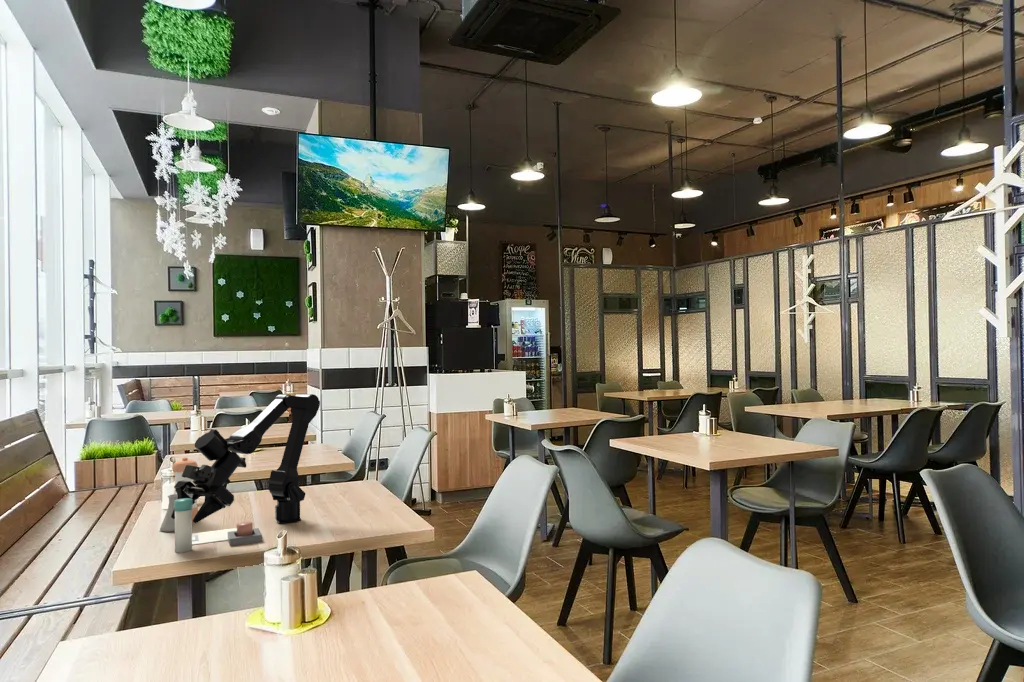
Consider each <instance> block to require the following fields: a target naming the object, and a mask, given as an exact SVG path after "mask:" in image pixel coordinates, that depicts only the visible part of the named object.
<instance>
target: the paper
mask: <svg viewBox="0 0 1024 682" xmlns="http://www.w3.org/2000/svg"><path fill="white" fill-rule="evenodd" d="M231 531H237V527H235V528H226V529H217V530H211V531H202V532H192V546H196V545H204V544H209V543H210V544H211V543H218V542H226V541H228V532H231Z"/></svg>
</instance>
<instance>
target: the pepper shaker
mask: <svg viewBox="0 0 1024 682" xmlns="http://www.w3.org/2000/svg"><path fill="white" fill-rule="evenodd" d="M186 465H191V466H197V467H199V466H198V463H197V462H196V461H195V460H193V459H189V458H188V457H183V458H181V459H180V460H177V461H176V462H174V463H173V464H172V467H171V468H172V471H173V472H174V486H175V485H176V484H177V482H178V481H182V480H184V481H191V482H192V483H193V481H194V480H193V479H190V478H187V477H185V478H184V477H182V474H183V471H184V469H185V466H186ZM193 484H194V483H193ZM194 485H195V486H196V484H194ZM173 494H177V492H176V491H175V488H174V490H173ZM197 503H198V499H197V500H195V503H194V504H193V505H192V522H193V519H194V517H195V515H196V514H197V512H198V511H199V506H198V505H197Z"/></svg>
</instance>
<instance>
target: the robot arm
mask: <svg viewBox="0 0 1024 682" xmlns="http://www.w3.org/2000/svg"><path fill="white" fill-rule="evenodd" d="M320 406H321V400H320V399H319V397H318V396H317V395H316V394H309V393H307V394H306V393H298V394H297V393H296V395H292V394H283V393H282V394H278V395H276V396H275V398H274V400H272V402H271V403H270V404H269V405H268V406H267V407H266V408H264V410H262V411H261V412H260V414H258V415H257V417H256V418H254V420H253V421H251V422H250V423H249V424H248V425H246V426H244V427H241V428H239V429H238V430H237V431H235V432H234V433H232V434H231V435H230V436H228V437H227V438H224V437H223V435H222V434H221V433H220V431H218V429H215V428H214V429H210V430H209V431H208V432H206V433H204V434H202V435H201V436H200V437H198V438H197V439H196V441H195V442H194V448H195V449H196V450H197V451H198V452H200V454H202V455H203V457H205V458H206V459H207V460H208V461H210V462H212V461H214V462H213V463H212V464H211V465H208V464H202V465H200V466H191V465H186V466H185V469H184V471H183V474H182V477H184V478H185V477H187V478H190V479H193V480H194V481H193V483H194V484H195V485H194V484H193V483H192V482H191V481H184V480H182V481H178V482H177V484H176V485H175V484H174V486H173V487H174V489H175V491H176V492H177V495H178V498H177V499H183V498H191V499H192V505H193V504H194V503H195V500H197V501H198V499H199V498H200V497H204V501H203V503H202V505H201V506H200V508H198V512H197V514H196V515H195V517H194V519H193V521H192V523H194V524H198V523H199V522H201V521H203V520H204V519H205V518H208V517H209V516H211V515H213V514H215V513H216V512H218V511H221V510H222V509H226V507H231V506H232V504H233V503H234V501H235V494H233V493H232V492H231V491H230V490H229V489H228V488H227V487H225V486H224V485H225V484H226V485H229V484H230V483H231V480H230V477H231V476H232V475H233V473H234V472H235V471H236V470H237V468H247V462H246V457H241V456H240V455H239V454H241V455H243V454H244V455H251V454H253V453H254V452H255V451H256V450H257V448H258V447H259V446H260V444H261V443H262V440H263V436H264V435H265V433H266V432H267V431H268V430H269V429H270V428H271V427H272V426H273V425H274V424H275V423H276V422H277V421H278V420H279V419H280V418H281V417H282V416H283V415H284V413H286V412H287V410H288V409H290V415H291V418H292V423H291V426H290V430H289V434H288V436H287V439H286V445H285V448H284V451H283V455H282V459H281V463H280V465H279V466H278V468H277V469H276V470H275V469H272V470H271V471H270V475H269V479H268V481H267V484H268V491H269V493H270V494H271V497H272V500H273V501H276V505H275V506H274V510H275V511H274V514H275V516H274V517H275V520H276V521H277V523H278V524H287V523H288V524H289V523H294V522H295V523H297V522H301V521H302V518H301V502H302V501H304V500H305V498H306V492H305V491H304V490H303V489H302V488H301V487H300V486H299V483H300V477H299V476H300V475H299V472H298V466H299V462H300V459H301V456H302V455H301V454H302V451H303V447H304V443H305V440H306V435H307V433H308V427H309V424H310V423H311V422H312V420H313V419H314V418H315V417H316V416H317V413H318V411H319V409H320ZM171 518H173V519H175V510H173V513H172V515H171Z"/></svg>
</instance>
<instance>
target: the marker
mask: <svg viewBox="0 0 1024 682" xmlns="http://www.w3.org/2000/svg"><path fill="white" fill-rule="evenodd" d="M174 510H175V531H174V553H179V554H180V553H188V552H190V551H192V550H193V545H192V533H193V521H192V499H191V498H183V499H177V500H175V501H174Z"/></svg>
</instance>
